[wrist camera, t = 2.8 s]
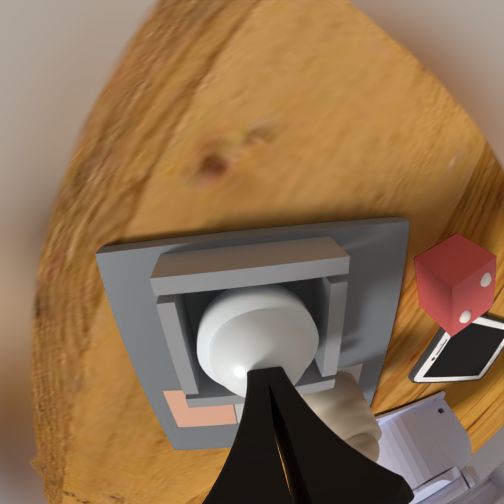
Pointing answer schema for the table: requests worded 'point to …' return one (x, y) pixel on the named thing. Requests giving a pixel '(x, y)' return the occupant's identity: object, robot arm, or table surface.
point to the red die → (455, 282)
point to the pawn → (348, 414)
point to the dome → (255, 335)
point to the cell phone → (461, 353)
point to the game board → (242, 275)
